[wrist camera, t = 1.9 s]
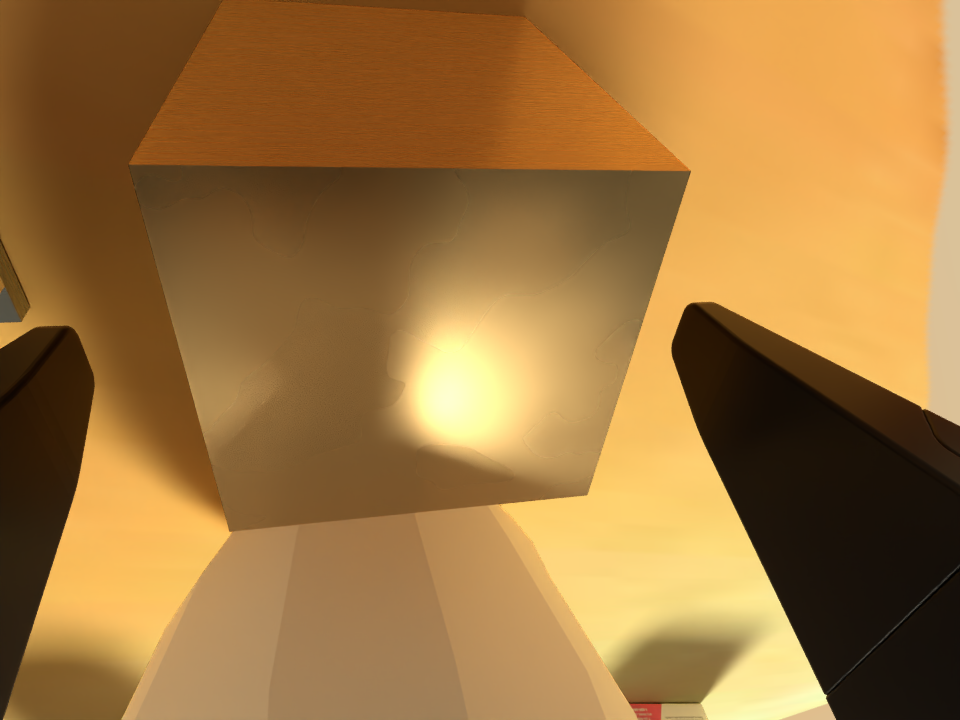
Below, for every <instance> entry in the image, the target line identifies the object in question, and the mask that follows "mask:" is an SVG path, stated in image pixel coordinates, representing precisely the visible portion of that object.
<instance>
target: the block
mask: <svg viewBox="0 0 960 720" xmlns="http://www.w3.org/2000/svg"><path fill="white" fill-rule="evenodd" d="M128 165H129V169H130V173H131V176H132V180H133V184H134V187H135V191H136V194H137V198H138V202H139V205H140V209H141V212H142V216H143V220H144V223H145V227H146V231H147V234H148V238H149V241H150V245H151V249H152V252H153V256H154V260H155V263H156V267H157V270H158V274H159V278H160V281H161V285H162V289H163V292H164V296H165V299H166V303H167V307H168V310H169V314H170V317H171V321H172V325H173V328H174V332H175V336H176V339H177V343H178V346H179V350H180V354H181V357H182V361H183V365H184V368H185V372H186V375H187V379H188V383H189V386H190V390H191V393H192V397H193V401H194V404H195V408H196V412H197V415H198V419H199V422H200V426H201V430H202V433H203V437H204V441H205V444H206V448H207V451H208V455H209V459H210V462H211V466H212V469H213V473H214V477H215V480H216V484H217V488H218V491H219V495H220V498H221V502H222V506H223V509H224V513H225V517H226V520H227V524H228V527H229V531H230V532H232V531H242V530H252V529H262V528H271V527H281V526H291V525H301V524H310V523H320V522H330V521H340V520H349V519H359V518H369V517H379V516H389V515H398V514H408V513H418V512H428V511H437V510H447V509H457V508H467V507H476V506H486V505H496V504H506V503H515V502H525V501H535V500H545V499H555V498H564V497H574V496H584V495H587V494H588V491H589V488H590V485H591V482H592V479H593V476H594V472H595V469H596V466H597V463H598V460H599V457H600V454H601V451H602V447H603V444H604V441H605V438H606V435H607V432H608V429H609V426H610V422H611V419H612V416H613V413H614V410H615V407H616V404H617V401H618V397H619V394H620V391H621V388H622V385H623V382H624V379H625V376H626V372H627V369H628V366H629V363H630V360H631V357H632V354H633V351H634V347H635V344H636V341H637V338H638V335H639V332H640V329H641V326H642V322H643V319H644V316H645V313H646V310H647V307H648V304H649V301H650V297H651V294H652V291H653V288H654V285H655V282H656V279H657V276H658V273H659V269H660V266H661V263H662V260H663V257H664V254H665V251H666V248H667V244H668V241H669V238H670V235H671V232H672V229H673V226H674V223H675V219H676V216H677V213H678V210H679V207H680V204H681V201H682V198H683V194H684V191H685V188H686V185H687V182H688V179H689V176H690V173H691V171H690V170H689V169H688V168H687V167H686V166H685V165H684V164H683V163H682V162H681V161H680V160H678V159H677V158H676V157H675V156H674V155H673V154H672V153H671V152H670V151H669V150H668V149H667V148H666V147H664V146H663V145H662V144H661V143H660V142H659V141H658V140H657V139H656V138H655V137H654V136H653V135H652V134H650V133H649V132H648V131H647V130H646V129H645V128H644V127H643V126H642V125H641V124H640V123H639V122H638V121H636V120H635V119H634V118H633V117H632V116H631V115H630V114H629V113H628V112H627V111H626V110H625V109H623V108H622V107H621V106H620V105H619V104H618V103H617V102H616V101H615V100H614V99H613V98H612V97H611V96H609V95H608V94H607V93H606V92H605V91H604V90H603V89H602V88H601V87H600V86H599V85H598V84H597V83H595V82H594V81H593V80H592V79H591V78H590V77H589V76H588V75H587V74H586V73H585V72H584V71H583V70H581V69H580V68H579V67H578V66H577V65H576V64H575V63H574V62H573V61H572V60H571V59H570V58H568V57H567V56H566V55H565V54H564V53H563V52H562V51H561V50H560V49H559V48H558V47H557V46H556V45H554V44H553V43H552V42H551V41H550V40H549V39H548V38H547V37H546V36H545V35H544V34H543V33H542V32H540V31H539V30H538V29H537V28H536V27H535V26H534V25H533V24H532V23H531V22H530V21H529V20H528V19H526V18H525V17H521V16H505V15H489V14H474V13H458V12H443V11H427V10H411V9H396V8H380V7H364V6H349V5H333V4H318V3H302V2H286V1H271V0H223V1H222V3H221V5H220V6H219V8H218V10H217V11H216V13H215V15H214V17H213V18H212V20H211V22H210V24H209V25H208V27H207V29H206V31H205V32H204V34H203V36H202V38H201V39H200V41H199V43H198V44H197V46H196V48H195V50H194V51H193V53H192V55H191V57H190V58H189V60H188V62H187V64H186V65H185V67H184V69H183V70H182V72H181V74H180V76H179V77H178V79H177V81H176V83H175V84H174V86H173V88H172V90H171V91H170V93H169V95H168V97H167V98H166V100H165V102H164V103H163V105H162V107H161V109H160V110H159V112H158V114H157V116H156V117H155V119H154V121H153V123H152V124H151V126H150V128H149V129H148V131H147V133H146V135H145V136H144V138H143V140H142V142H141V143H140V145H139V147H138V149H137V150H136V152H135V154H134V155H133V157H132V159H131V161H130V162H129V164H128Z"/></svg>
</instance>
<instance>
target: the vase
mask: <svg viewBox="0 0 960 720" xmlns="http://www.w3.org/2000/svg"><path fill="white" fill-rule="evenodd" d="M121 720H638V719H637V716H636V714H635V712H634V711H633V709H632V708H631V706H630V704H629V703H628V701H627V699H626V698H625V696H624V695H623V693H622V691H621V690H620V688H619V687H618V685H617V683H616V682H615V680H614V679H613V677H612V675H611V674H610V672H609V671H608V669H607V667H606V666H605V664H604V663H603V661H602V659H601V658H600V656H599V655H598V653H597V651H596V650H595V648H594V647H593V645H592V643H591V642H590V640H589V638H588V637H587V635H586V634H585V632H584V630H583V629H582V627H581V626H580V624H579V622H578V621H577V619H576V618H575V616H574V614H573V613H572V611H571V610H570V608H569V606H568V605H567V603H566V602H565V600H564V598H563V597H562V595H561V594H560V592H559V590H558V589H557V587H556V586H555V584H554V582H553V581H552V579H551V578H550V576H549V574H548V572H547V570H546V568H545V566H544V564H543V562H542V560H541V558H540V556H539V554H538V552H537V550H536V548H535V546H534V544H533V542H532V540H531V539H530V538H529V537H528V536H527V534H526V533H525V532H524V531H523V530H522V528H521V527H520V526H519V525H518V524H517V522H516V521H515V520H514V519H513V518H512V517H511V516H510V515H509V514H508V513H507V512H506V511H505V510H504V509H503V508H502V507H501V506H499V505H498V504H496V505H486V506H476V507H467V508H457V509H447V510H437V511H428V512H418V513H408V514H398V515H389V516H379V517H369V518H359V519H349V520H340V521H330V522H320V523H310V524H301V525H291V526H281V527H271V528H262V529H252V530H242V531H233V532H232V534H231V535H230V536H229V538H228V539H227V540H226V542H225V543H224V544H223V546H222V547H221V549H220V550H219V551H218V553H217V554H216V555H215V557H214V558H213V559H212V561H211V562H210V563H209V565H208V566H207V568H206V569H205V570H204V572H203V573H202V574H201V576H200V577H199V579H198V580H197V582H196V583H195V585H194V586H193V588H192V589H191V591H190V592H189V594H188V595H187V597H186V598H185V600H184V601H183V603H182V604H181V606H180V607H179V609H178V610H177V612H176V613H175V615H174V616H173V618H172V619H171V621H170V622H169V624H168V625H167V627H166V628H165V630H164V632H163V634H162V636H161V638H160V640H159V642H158V644H157V647H156V649H155V651H154V653H153V655H152V657H151V659H150V661H149V663H148V665H147V667H146V669H145V672H144V674H143V676H142V678H141V680H140V682H139V684H138V686H137V688H136V690H135V692H134V694H133V697H132V699H131V701H130V703H129V705H128V707H127V709H126V711H125V713H124V715H123V717H122V719H121Z"/></svg>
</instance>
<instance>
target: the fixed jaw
mask: <svg viewBox="0 0 960 720" xmlns="http://www.w3.org/2000/svg"><path fill="white" fill-rule="evenodd" d="M4 287H5V286H4V284H3V282H2V280H1V278H0V293H1V291H2V290H3V288H4Z"/></svg>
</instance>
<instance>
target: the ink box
mask: <svg viewBox="0 0 960 720" xmlns="http://www.w3.org/2000/svg"><path fill="white" fill-rule="evenodd" d="M630 706H631V708H632V709H633V711H634V712H635V714H636V716H637V719H638V720H708V718H707V716H706V714H705V711H704V709H703V707H702V705H701V704H700V703H695V704H630Z"/></svg>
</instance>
